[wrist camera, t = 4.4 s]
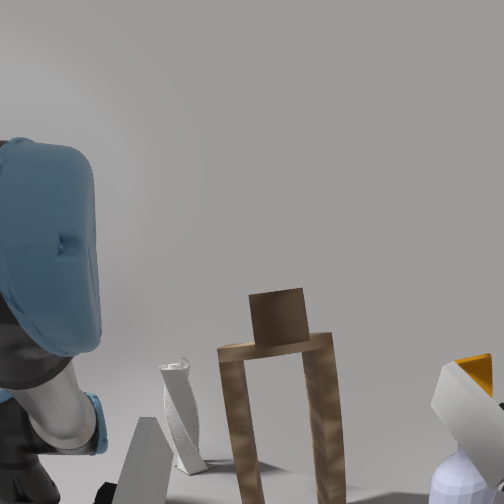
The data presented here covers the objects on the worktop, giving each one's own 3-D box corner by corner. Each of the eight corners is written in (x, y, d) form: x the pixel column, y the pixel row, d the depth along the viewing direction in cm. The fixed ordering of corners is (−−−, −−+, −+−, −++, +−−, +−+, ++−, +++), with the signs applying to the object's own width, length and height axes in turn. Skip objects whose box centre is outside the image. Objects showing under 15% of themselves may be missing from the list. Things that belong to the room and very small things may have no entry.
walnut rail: (255, 349, 20) (248, 295, 21) (255, 340, 45) (252, 315, 46) (310, 340, 20) (302, 287, 21) (280, 336, 45) (277, 312, 46)
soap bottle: (411, 546, 15) (422, 372, 21) (436, 506, 20) (442, 351, 27) (477, 546, 8) (512, 354, 15) (493, 503, 14) (509, 335, 21)
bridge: (253, 554, 21) (217, 348, 29) (254, 517, 30) (226, 345, 38) (346, 539, 21) (331, 332, 29) (330, 506, 30) (313, 332, 39)
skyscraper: (218, 469, 51) (200, 355, 58) (188, 480, 45) (166, 359, 53) (198, 460, 57) (181, 355, 64) (170, 468, 51) (150, 358, 59)
